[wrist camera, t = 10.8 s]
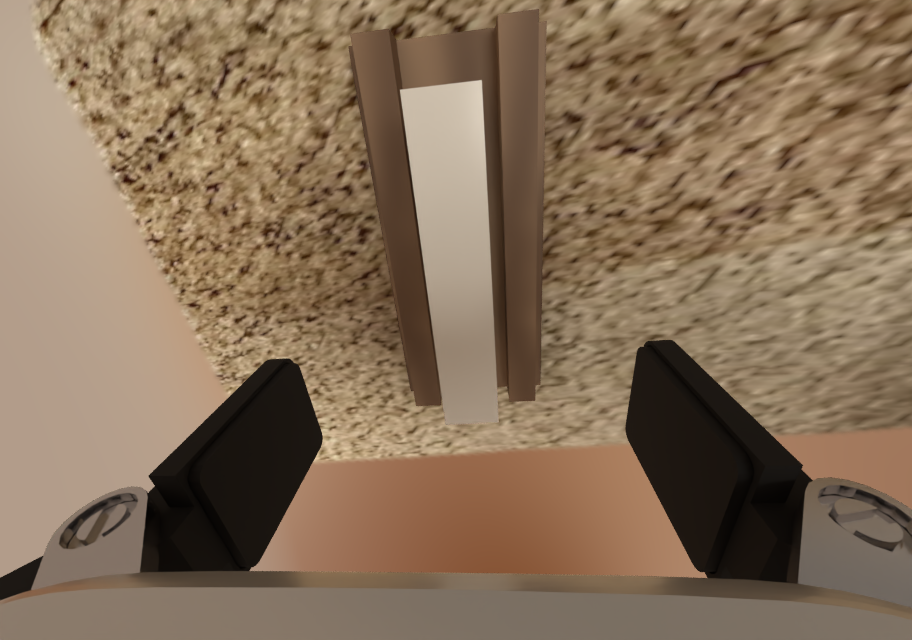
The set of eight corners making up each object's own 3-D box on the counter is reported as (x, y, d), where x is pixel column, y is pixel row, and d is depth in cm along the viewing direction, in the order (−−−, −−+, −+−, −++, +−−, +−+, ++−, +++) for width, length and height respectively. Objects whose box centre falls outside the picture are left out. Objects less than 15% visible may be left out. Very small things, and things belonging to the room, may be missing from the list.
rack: (543, 27, 20) (554, 7, 17) (538, 377, 30) (544, 399, 27) (353, 51, 20) (335, 35, 18) (412, 384, 31) (407, 406, 28)
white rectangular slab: (477, 108, 21) (481, 80, 12) (490, 342, 27) (498, 422, 19) (427, 114, 21) (399, 89, 13) (453, 345, 28) (445, 424, 20)
